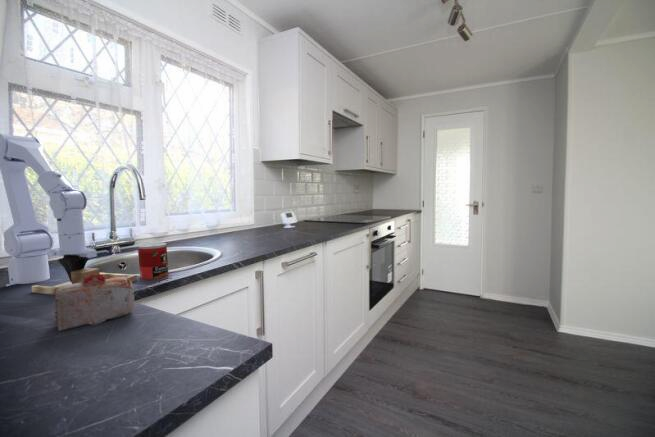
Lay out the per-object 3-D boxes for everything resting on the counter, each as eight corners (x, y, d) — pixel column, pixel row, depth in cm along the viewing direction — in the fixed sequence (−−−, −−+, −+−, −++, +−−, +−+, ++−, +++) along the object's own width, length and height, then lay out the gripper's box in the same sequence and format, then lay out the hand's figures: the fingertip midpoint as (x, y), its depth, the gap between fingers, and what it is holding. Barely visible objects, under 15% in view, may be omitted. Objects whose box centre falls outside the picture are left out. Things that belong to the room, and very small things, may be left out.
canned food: (157, 283, 94) (154, 247, 93) (134, 282, 96) (131, 246, 95) (174, 276, 102) (172, 242, 101) (152, 275, 103) (150, 242, 102)
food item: (130, 306, 76) (127, 266, 75) (137, 315, 70) (134, 272, 70) (55, 323, 67) (50, 277, 66) (57, 335, 61) (51, 286, 60)
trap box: (32, 296, 85) (31, 286, 84) (88, 280, 99) (87, 271, 99) (86, 302, 79) (85, 291, 79) (137, 284, 94) (136, 275, 94)
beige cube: (72, 287, 88) (70, 271, 87) (88, 283, 92) (87, 267, 91) (84, 288, 86) (83, 272, 86) (100, 284, 91) (99, 268, 90)
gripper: (36, 235, 87) (41, 284, 88) (76, 236, 83) (81, 287, 84) (64, 231, 94) (68, 277, 95) (102, 232, 90) (106, 279, 91)
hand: (76, 281), depth 90 cm, fingers closed
